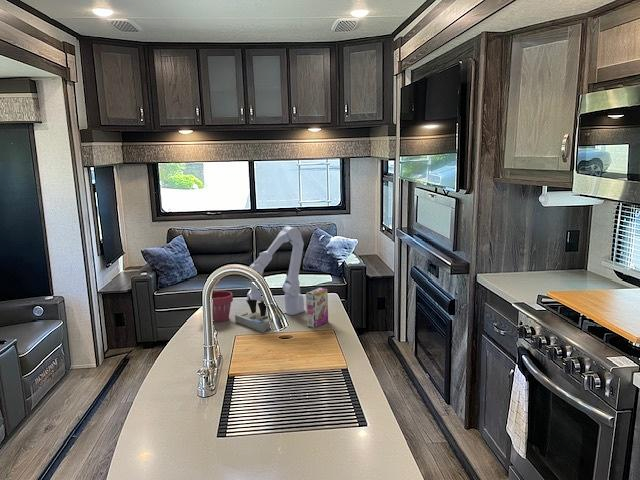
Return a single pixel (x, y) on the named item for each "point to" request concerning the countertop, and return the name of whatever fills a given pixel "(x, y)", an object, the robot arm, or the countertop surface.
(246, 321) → the grey comb rack
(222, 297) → the plant pot
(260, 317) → the cream cylinder column
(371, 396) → the countertop surface
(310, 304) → the candy bar box
